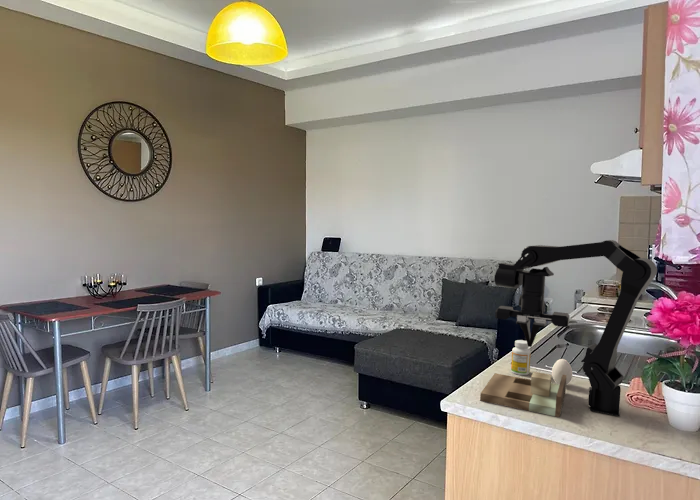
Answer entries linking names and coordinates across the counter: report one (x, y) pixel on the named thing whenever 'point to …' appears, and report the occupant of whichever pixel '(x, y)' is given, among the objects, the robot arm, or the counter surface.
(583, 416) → the counter surface
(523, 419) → the counter surface
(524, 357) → the supplement bottle
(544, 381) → the birch block
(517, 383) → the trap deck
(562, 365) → the egg
